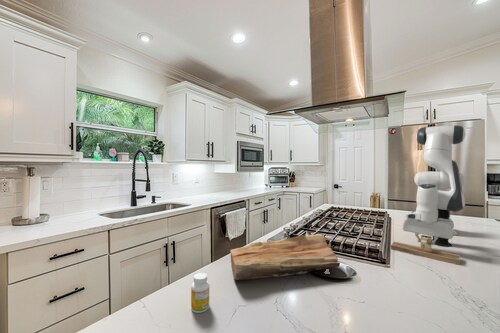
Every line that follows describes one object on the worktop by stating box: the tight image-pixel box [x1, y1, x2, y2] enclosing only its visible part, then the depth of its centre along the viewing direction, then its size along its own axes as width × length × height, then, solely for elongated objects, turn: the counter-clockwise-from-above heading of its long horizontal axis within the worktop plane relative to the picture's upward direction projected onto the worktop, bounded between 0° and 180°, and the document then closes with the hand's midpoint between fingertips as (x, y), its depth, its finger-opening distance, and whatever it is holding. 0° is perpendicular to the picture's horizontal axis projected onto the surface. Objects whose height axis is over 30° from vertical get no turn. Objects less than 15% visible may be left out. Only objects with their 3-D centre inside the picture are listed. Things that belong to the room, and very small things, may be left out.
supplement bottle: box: [190, 272, 210, 314], centre depth 69 cm, size 5×5×10 cm
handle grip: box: [432, 209, 453, 248], centre depth 127 cm, size 10×26×10 cm
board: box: [390, 241, 461, 266], centre depth 112 cm, size 8×26×2 cm, turn 47°
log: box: [229, 233, 341, 282], centre depth 91 cm, size 42×18×15 cm, turn 102°
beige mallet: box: [420, 234, 433, 249], centre depth 114 cm, size 12×4×6 cm, turn 136°
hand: (426, 243), depth 117 cm, fingers closed on beige mallet, 4 cm apart
